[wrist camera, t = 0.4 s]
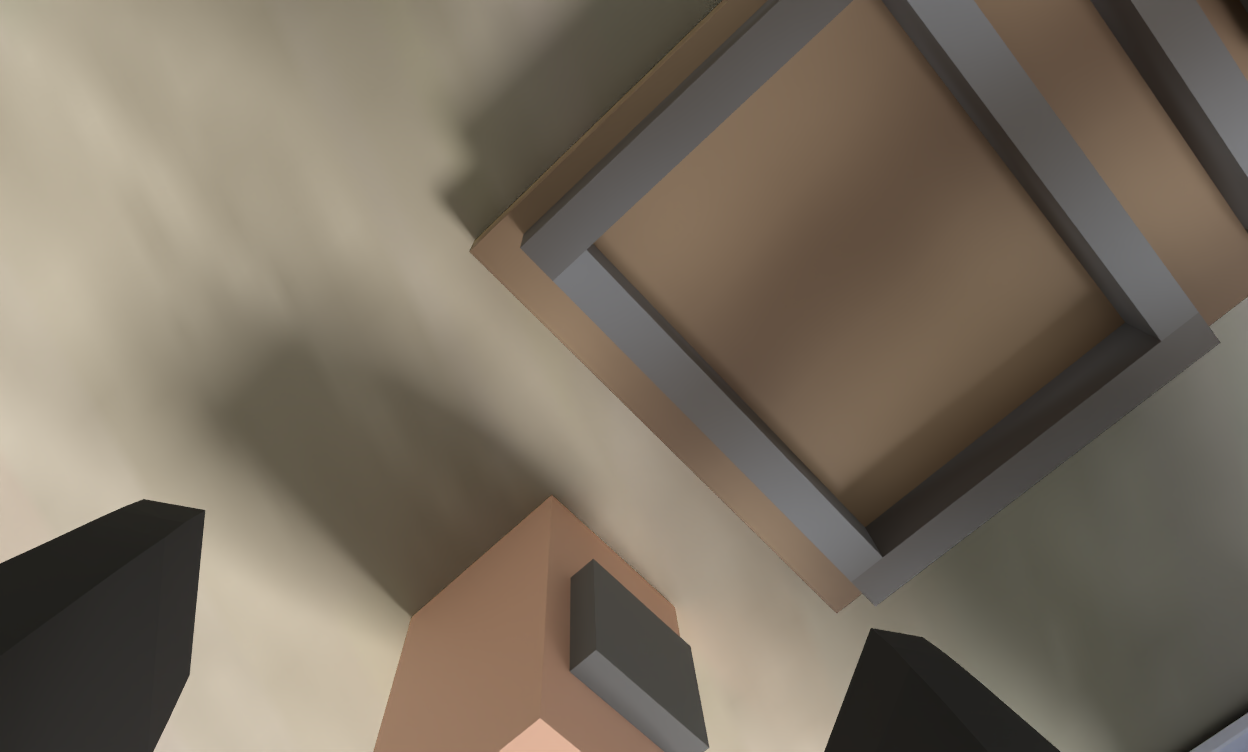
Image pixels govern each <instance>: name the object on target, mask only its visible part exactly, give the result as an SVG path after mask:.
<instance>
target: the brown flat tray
mask: <svg viewBox="0 0 1248 752" xmlns="http://www.w3.org/2000/svg"><path fill="white" fill-rule="evenodd" d="M469 252H470V253H471V254H472V255H473V256H474V257H475V258H477V259H478V260H479V261H480V262H481V263H482V264H483V265H484V266H485V267H486V268H487V269H488V270H489V271H490V272H491V273H492V274H493V275H494V276H495V277H496V278H497V279H498V280H499V281H500V282H501V283H502V284H503V285H504V286H505V287H506V288H507V289H508V290H509V291H510V292H511V293H512V294H513V295H514V296H515V297H516V298H517V299H518V300H519V301H520V302H521V303H522V304H523V305H524V306H525V307H526V308H527V309H528V310H529V311H530V312H531V313H532V314H533V315H534V316H535V317H536V318H537V319H538V320H539V321H540V322H541V323H542V324H543V325H544V326H546V327H547V328H548V329H549V330H550V331H551V332H552V333H553V334H554V335H555V336H556V337H557V338H558V339H559V340H560V341H561V342H562V343H563V344H564V345H565V346H566V347H567V348H568V349H569V350H570V351H571V352H572V353H573V354H574V355H575V356H576V357H577V358H578V359H579V360H580V361H581V362H582V363H583V364H584V365H585V366H586V367H587V368H588V369H589V370H590V371H591V372H592V373H593V374H594V375H595V376H596V377H597V378H598V379H599V380H600V381H601V382H602V383H603V384H604V385H605V386H606V387H607V388H608V389H609V390H610V391H611V392H612V393H613V394H614V395H616V396H617V397H618V398H619V399H620V400H621V401H622V402H623V403H624V404H625V405H626V406H627V407H628V408H629V409H630V410H631V411H632V412H633V413H634V414H635V415H636V416H637V417H638V418H639V419H640V420H641V421H642V422H643V423H644V424H645V425H646V426H647V427H648V428H649V429H650V430H651V431H652V432H653V433H654V434H655V435H656V436H657V437H658V438H659V439H660V440H661V441H662V442H663V443H664V444H665V445H666V446H667V447H668V448H669V449H670V450H671V451H672V452H673V453H674V454H675V455H676V456H677V457H678V458H679V459H680V460H681V461H682V462H683V463H684V464H686V465H687V466H688V467H689V468H690V469H691V470H692V471H693V472H694V473H695V474H696V475H697V476H698V477H699V478H700V479H701V480H702V481H703V482H704V483H705V484H706V485H707V486H708V487H709V488H710V489H711V490H712V491H713V492H714V493H715V494H716V495H717V496H718V497H719V498H720V499H721V500H722V501H723V502H724V503H725V504H726V505H727V506H728V507H729V508H730V509H731V510H732V511H733V512H734V513H735V514H736V515H737V516H738V517H739V518H740V519H741V520H742V521H743V522H744V523H745V524H746V525H747V526H748V527H749V528H750V529H751V530H752V531H753V532H755V533H756V534H757V535H758V536H759V537H760V538H761V539H762V540H763V541H764V542H765V543H766V544H767V545H768V546H769V547H770V548H771V549H772V550H773V551H774V552H775V553H776V554H777V555H778V556H779V557H780V558H781V559H782V560H783V561H784V562H785V563H786V564H787V565H788V566H789V567H790V568H791V569H792V570H793V571H794V572H795V573H796V574H797V575H798V576H799V577H800V578H801V579H802V580H803V581H804V582H805V583H806V584H807V585H808V586H809V587H810V588H811V589H812V590H813V591H814V592H815V593H816V594H817V595H818V596H819V597H820V598H821V599H822V600H823V601H825V602H826V603H827V604H828V605H829V606H830V607H831V608H832V609H833V610H834V611H835V612H836V613H838V612H839V611H840V610H842V609H843V608H844V607H846V606H847V605H848V604H850V603H851V602H852V601H853V600H855V599H856V598H857V597H859V596H860V595H861V594H864V595H865V596H866V597H867V598H868V599H869V600H870V601H871V602H872V604H873V605H874V606H877V605H878V604H879V603H880V602H882V601H883V600H884V599H886V598H887V597H888V596H890V595H891V594H892V593H894V592H895V591H896V590H897V589H899V588H900V587H901V586H903V585H904V584H905V583H907V582H908V581H909V580H911V579H912V578H913V577H914V576H916V575H917V574H918V573H920V572H921V571H922V570H924V569H925V568H926V567H928V566H929V565H930V564H931V563H933V562H934V561H935V560H937V559H938V558H939V557H941V556H942V555H943V554H945V553H946V552H947V551H948V550H950V549H951V548H952V547H954V546H955V545H956V544H958V543H959V542H960V541H962V540H963V539H964V538H965V537H967V536H968V535H969V534H971V533H972V532H973V531H975V530H976V529H977V528H979V527H980V526H981V525H982V524H984V523H985V522H986V521H988V520H989V519H990V518H992V517H993V516H994V515H996V514H997V513H998V512H999V511H1001V510H1002V509H1003V508H1005V507H1006V506H1007V505H1009V504H1010V503H1011V502H1013V501H1014V500H1015V499H1016V498H1018V497H1019V496H1020V495H1022V494H1023V493H1024V492H1026V491H1027V490H1028V489H1030V488H1031V487H1032V486H1033V485H1035V484H1036V483H1037V482H1039V481H1040V480H1041V479H1043V478H1044V477H1045V476H1047V475H1048V474H1049V473H1050V472H1052V471H1053V470H1054V469H1056V468H1057V467H1058V466H1060V465H1061V464H1062V463H1064V462H1065V461H1066V460H1067V459H1069V458H1070V457H1071V456H1073V455H1074V454H1075V453H1077V452H1078V451H1079V450H1081V449H1082V448H1083V447H1084V446H1086V445H1087V444H1088V443H1090V442H1091V441H1092V440H1094V439H1095V438H1096V437H1098V436H1099V435H1100V434H1101V433H1103V432H1104V431H1105V430H1107V429H1108V428H1109V427H1111V426H1112V425H1113V424H1115V423H1116V422H1117V421H1118V420H1120V419H1121V418H1122V417H1124V416H1125V415H1126V414H1128V413H1129V412H1130V411H1132V410H1133V409H1134V408H1135V407H1137V406H1138V405H1139V404H1141V403H1142V402H1143V401H1145V400H1146V399H1147V398H1149V397H1150V396H1151V395H1152V394H1154V393H1155V392H1156V391H1158V390H1159V389H1160V388H1162V387H1163V386H1164V385H1166V384H1167V383H1168V382H1169V381H1171V380H1172V379H1173V378H1175V377H1176V376H1177V375H1179V374H1180V373H1181V372H1183V371H1184V370H1185V369H1186V368H1188V367H1189V366H1190V365H1192V364H1193V363H1194V362H1196V361H1197V360H1198V359H1200V358H1201V357H1202V356H1203V355H1205V354H1206V353H1207V352H1209V351H1210V350H1211V349H1213V348H1214V347H1215V346H1217V345H1218V344H1219V343H1220V341H1219V340H1218V338H1217V337H1216V336H1215V334H1214V333H1213V331H1212V330H1211V329H1210V327H1209V326H1210V325H1211V324H1213V323H1214V322H1215V321H1217V320H1218V319H1219V318H1221V317H1222V316H1223V315H1224V314H1226V313H1227V312H1228V311H1230V310H1231V309H1232V308H1234V307H1235V306H1236V305H1237V304H1239V303H1240V302H1241V301H1243V300H1244V299H1245V298H1247V297H1248V0H722V1H721V2H720V3H719V4H718V5H717V6H716V7H715V8H714V9H713V10H712V11H711V12H710V13H709V14H708V15H707V16H706V17H705V18H704V19H703V20H702V21H701V22H700V23H698V24H697V25H696V26H695V27H694V28H693V29H692V30H691V31H690V32H689V33H688V34H687V35H686V36H685V37H684V38H683V39H682V40H681V41H680V42H679V43H678V44H677V45H676V46H675V47H674V48H673V49H672V50H671V51H670V52H669V53H668V54H667V55H665V56H664V57H663V58H662V59H661V60H660V61H659V62H658V63H657V64H656V65H655V66H654V67H653V68H652V69H651V70H650V71H649V72H648V73H647V74H646V75H645V76H644V77H643V78H642V79H641V80H640V81H639V82H638V83H637V84H636V85H635V86H633V87H632V88H631V89H630V90H629V91H628V92H627V93H626V94H625V95H624V96H623V97H622V98H621V99H620V100H619V101H618V102H617V103H616V104H615V105H614V106H613V107H612V108H611V109H610V110H609V111H608V112H607V113H606V114H605V115H604V116H603V117H602V118H600V119H599V120H598V121H597V122H596V123H595V124H594V125H593V126H592V127H591V128H590V129H589V130H588V131H587V132H586V133H585V134H584V135H583V136H582V137H581V138H580V139H579V140H578V141H577V142H576V143H575V144H574V145H573V146H572V147H571V148H570V149H568V150H567V151H566V152H565V153H564V154H563V155H562V156H561V157H560V158H559V159H558V160H557V161H556V162H555V163H554V164H553V165H552V166H551V167H550V168H549V169H548V170H547V171H546V172H545V173H544V174H543V175H542V176H541V177H540V178H539V179H538V180H537V181H535V182H534V183H533V184H532V185H531V186H530V187H529V188H528V189H527V190H526V191H525V192H524V193H523V194H522V195H521V196H520V197H519V198H518V199H517V200H516V201H515V202H514V203H513V204H512V205H511V206H510V207H509V208H508V209H507V210H506V211H505V212H504V213H502V214H501V215H500V216H499V217H498V218H497V219H496V220H495V221H494V222H493V223H492V224H491V225H490V226H489V227H488V228H487V229H486V230H485V231H484V232H483V233H482V234H481V235H480V236H479V237H478V238H477V239H476V240H475V241H474V243H473V245H472V247H471V249H470V251H469Z"/></svg>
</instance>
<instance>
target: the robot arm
mask: <svg viewBox="0 0 1248 752" xmlns="http://www.w3.org/2000/svg"><path fill="white" fill-rule="evenodd" d="M204 518H205V510H201V509H196V508H190V507H184V506H179V505H173V504H167V503H162V502H156V501H150V500H145V499H143V500H140V501H138V502H135V503H133V504H130V505H127V506H125V507H123V508H120V509H118V510H116V511H114V512H111V513H109V514H107V515H105V516H102V517H100V518H98V519H96V520H94V521H92V522H89V523H87V524H85V525H83V526H81V527H79V528H76V529H74V530H72V531H70V532H68V533H66V534H64V535H61V536H59V537H57V538H55V539H53V540H51V541H49V542H46V543H44V544H42V545H40V546H38V547H36V548H33V549H31V550H29V551H27V552H25V553H22V554H20V555H18V556H16V557H14V558H11V559H9V560H7V561H5V562H3V563H0V752H153V751H154V749H155V747H156V745H157V743H158V741H159V739H160V736H161V734H162V732H163V730H164V728H165V726H166V724H167V722H168V720H169V718H170V716H171V714H172V711H173V709H174V707H175V705H176V703H177V701H178V699H179V696H180V694H181V692H182V690H183V688H184V686H185V684H186V681H187V679H188V677H189V675H190V664H191V654H192V643H193V633H194V622H195V612H196V601H197V591H198V580H199V570H200V559H201V549H202V538H203V528H204ZM824 752H1060V751H1059V750H1058V749H1057V748H1056V747H1055V746H1053V745H1052V744H1051V743H1050V742H1049V741H1048V740H1046V739H1045V738H1044V737H1043V736H1042V735H1041V734H1039V733H1038V732H1037V731H1036V730H1035V729H1034V728H1032V727H1031V726H1030V725H1029V724H1028V723H1027V722H1026V721H1024V720H1023V719H1022V718H1021V717H1020V716H1019V715H1017V714H1016V713H1015V712H1014V711H1013V710H1012V709H1011V708H1009V707H1008V706H1007V705H1006V704H1005V703H1004V702H1002V701H1001V700H1000V699H999V698H998V697H997V696H995V695H994V694H993V693H992V692H991V691H990V690H989V689H987V688H986V687H985V686H984V685H983V684H982V683H980V682H979V681H978V680H977V679H976V678H974V677H973V676H972V675H971V674H970V673H968V672H967V671H966V670H965V669H964V668H962V667H961V666H960V665H959V664H958V663H956V662H955V661H954V660H953V659H951V658H950V657H949V656H948V655H946V654H945V653H944V652H942V651H941V650H940V649H938V648H937V647H936V646H934V645H933V644H931V643H930V642H929V641H927V640H926V639H924V638H923V637H918V636H913V635H907V634H901V633H896V632H890V631H884V630H879V629H873V628H871V629H870V632H869V635H868V637H867V640H866V643H865V645H864V648H863V651H862V653H861V656H860V658H859V661H858V664H857V666H856V669H855V672H854V674H853V677H852V680H851V682H850V685H849V688H848V690H847V693H846V696H845V698H844V701H843V703H842V706H841V709H840V711H839V714H838V717H837V719H836V722H835V725H834V727H833V730H832V733H831V735H830V738H829V741H828V743H827V746H826V748H825V751H824ZM1190 752H1248V713H1247V714H1245V715H1244V716H1242V717H1241V718H1239V719H1238V720H1236V721H1235V722H1233V723H1232V724H1230V725H1229V726H1227V727H1226V728H1224V729H1223V730H1221V731H1220V732H1218V733H1217V734H1215V735H1214V736H1212V737H1211V738H1209V739H1208V740H1206V741H1205V742H1203V743H1202V744H1200V745H1199V746H1197V747H1196V748H1194V749H1193V750H1191V751H1190Z"/></svg>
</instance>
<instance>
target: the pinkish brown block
mask: <svg viewBox="0 0 1248 752" xmlns="http://www.w3.org/2000/svg"><path fill="white" fill-rule="evenodd" d="M708 748H709V744H708V738H707V733H706V727H705V722H704V717H703V711H702V706H701V701H700V695H699V690H698V684H697V679H696V674H695V668H694V663H693V658H692V652H691V647H690V646H689V645H688V644H687V643H686V642H685V641H684V640H683V639H682V638H681V637H680V634H679V628H678V622H677V616H676V611H675V607H674V606H673V605H672V604H671V603H670V602H669V601H668V600H666V599H665V598H664V597H663V596H662V595H661V594H660V593H659V592H658V591H657V590H655V589H654V588H653V587H652V586H651V585H650V584H649V583H648V582H647V581H646V580H645V579H643V578H642V577H641V576H640V575H639V574H638V573H637V572H636V571H635V570H634V569H633V568H631V567H630V566H629V565H628V564H627V563H626V562H625V561H624V560H623V559H622V558H621V557H619V556H618V555H617V554H616V553H615V552H614V551H613V550H612V549H611V548H610V547H608V546H607V545H606V544H605V543H604V542H603V541H602V540H601V539H600V538H599V537H598V536H596V535H595V534H594V533H593V532H592V531H591V530H590V529H589V528H588V527H587V526H586V525H584V524H583V523H582V522H581V521H580V520H579V519H578V518H577V517H576V516H575V515H574V514H572V513H571V512H570V511H569V510H568V509H567V508H566V507H565V506H564V505H563V504H561V503H560V502H559V501H558V500H557V499H556V498H555V497H554V496H553V495H551V496H550V497H549V498H548V499H547V500H545V501H544V502H543V503H542V504H541V505H540V506H539V507H537V508H536V509H535V510H534V511H533V512H532V513H530V514H529V515H528V516H527V517H526V518H525V519H524V520H522V521H521V522H520V523H519V524H518V525H517V526H516V527H514V528H513V529H512V530H511V531H510V532H509V533H508V534H506V535H505V536H504V537H503V538H502V539H501V540H499V541H498V542H497V543H496V544H495V545H494V546H493V547H491V548H490V549H489V550H488V551H487V552H486V553H485V554H483V555H482V556H481V557H480V558H479V559H478V560H477V561H475V562H474V563H473V564H472V565H471V566H470V567H469V568H467V569H466V570H465V571H464V572H463V573H462V574H460V575H459V576H458V577H457V578H456V579H455V580H454V581H452V582H451V583H450V584H449V585H448V586H447V587H446V588H444V589H443V590H442V591H441V592H440V593H439V594H438V595H436V596H435V597H434V598H433V599H432V600H431V601H429V602H428V603H427V604H426V605H425V606H424V607H423V608H421V609H420V610H419V611H418V612H417V613H416V614H415V615H413V616H412V617H411V621H410V624H409V628H408V632H407V635H406V639H405V642H404V646H403V649H402V653H401V656H400V660H399V663H398V667H397V670H396V674H395V677H394V681H393V685H392V688H391V692H390V695H389V699H388V702H387V706H386V709H385V713H384V716H383V720H382V723H381V727H380V730H379V734H378V737H377V741H376V745H375V748H374V752H704V751H706V750H707V749H708Z"/></svg>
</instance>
